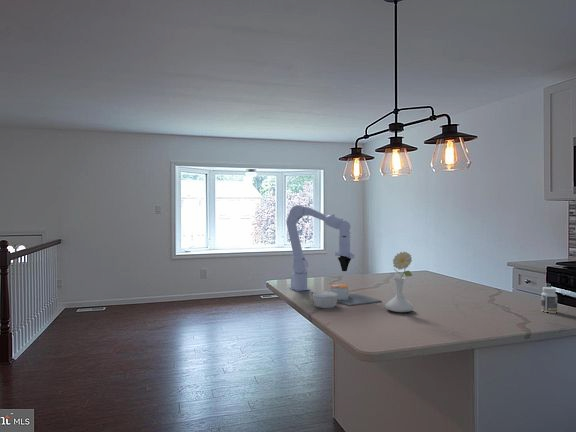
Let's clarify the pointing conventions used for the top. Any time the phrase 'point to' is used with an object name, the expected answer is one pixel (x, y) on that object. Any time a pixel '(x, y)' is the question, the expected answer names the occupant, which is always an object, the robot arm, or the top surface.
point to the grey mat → (358, 299)
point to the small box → (340, 291)
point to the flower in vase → (400, 284)
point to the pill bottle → (549, 300)
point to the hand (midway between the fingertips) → (344, 271)
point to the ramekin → (325, 299)
